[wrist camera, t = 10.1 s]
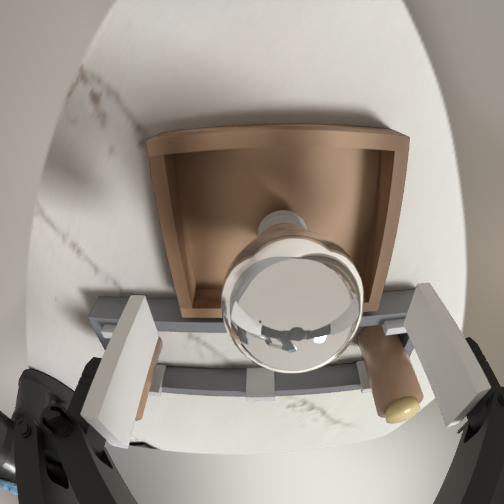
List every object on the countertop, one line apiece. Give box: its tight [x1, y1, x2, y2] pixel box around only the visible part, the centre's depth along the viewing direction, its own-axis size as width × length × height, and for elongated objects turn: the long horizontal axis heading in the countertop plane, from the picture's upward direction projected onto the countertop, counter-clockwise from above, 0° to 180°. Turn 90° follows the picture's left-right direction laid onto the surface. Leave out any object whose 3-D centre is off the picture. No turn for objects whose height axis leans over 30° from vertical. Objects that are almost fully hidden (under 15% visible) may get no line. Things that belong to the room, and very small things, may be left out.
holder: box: [88, 289, 415, 401], centre depth 27 cm, size 31×12×4 cm, turn 93°
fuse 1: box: [135, 337, 162, 420], centre depth 25 cm, size 4×4×10 cm
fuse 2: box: [358, 325, 423, 423], centre depth 24 cm, size 4×4×10 cm
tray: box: [146, 124, 410, 318], centre depth 21 cm, size 16×14×3 cm
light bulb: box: [221, 210, 364, 374], centre depth 16 cm, size 7×7×12 cm
